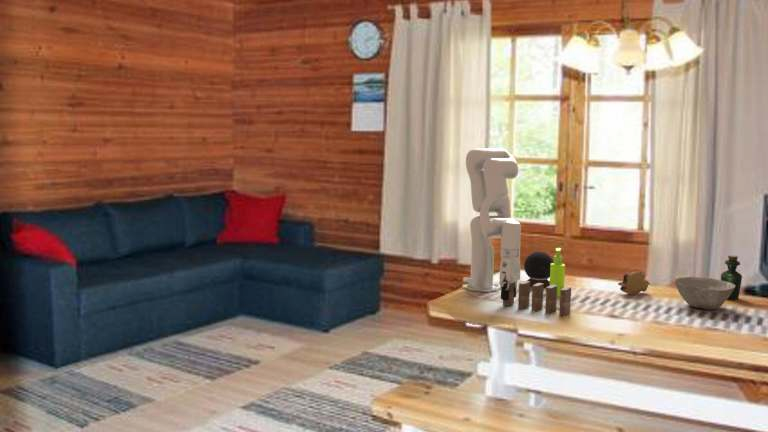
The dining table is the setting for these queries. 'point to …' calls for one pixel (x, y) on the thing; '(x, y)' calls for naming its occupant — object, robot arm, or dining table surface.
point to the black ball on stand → (538, 268)
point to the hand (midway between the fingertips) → (508, 297)
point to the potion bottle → (732, 276)
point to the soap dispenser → (557, 272)
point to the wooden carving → (634, 283)
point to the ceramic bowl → (704, 291)
